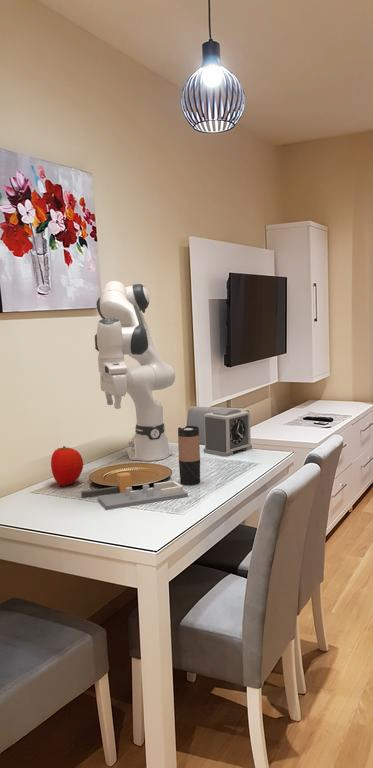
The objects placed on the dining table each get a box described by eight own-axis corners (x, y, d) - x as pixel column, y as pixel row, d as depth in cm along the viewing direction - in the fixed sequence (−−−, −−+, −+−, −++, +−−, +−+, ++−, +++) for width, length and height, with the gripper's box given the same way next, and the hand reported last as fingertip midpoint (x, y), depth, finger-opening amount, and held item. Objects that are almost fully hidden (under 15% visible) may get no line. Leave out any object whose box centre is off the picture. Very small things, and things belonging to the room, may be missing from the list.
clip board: (97, 500, 208) (97, 489, 207) (175, 487, 218) (175, 477, 218) (106, 509, 198) (105, 498, 197) (187, 496, 208) (187, 486, 208)
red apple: (61, 478, 235) (59, 441, 233) (89, 479, 232) (87, 442, 230) (45, 488, 223) (43, 449, 221) (74, 490, 220) (72, 450, 218)
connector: (128, 488, 219) (127, 471, 219) (131, 491, 216) (130, 474, 215) (80, 495, 213) (79, 478, 212) (83, 499, 209) (82, 481, 209)
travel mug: (198, 486, 220) (197, 430, 217) (177, 485, 221) (175, 430, 218) (202, 479, 227) (200, 425, 224) (182, 479, 229) (180, 425, 226)
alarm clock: (226, 457, 258) (224, 413, 256) (202, 452, 267) (201, 410, 265) (253, 448, 272) (252, 407, 269) (229, 444, 281) (228, 404, 278)
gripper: (95, 365, 220) (97, 403, 222) (110, 369, 202) (112, 411, 203) (112, 363, 223) (114, 402, 224) (129, 368, 204) (131, 409, 206)
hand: (113, 406), depth 214 cm, fingers open, 8 cm apart
